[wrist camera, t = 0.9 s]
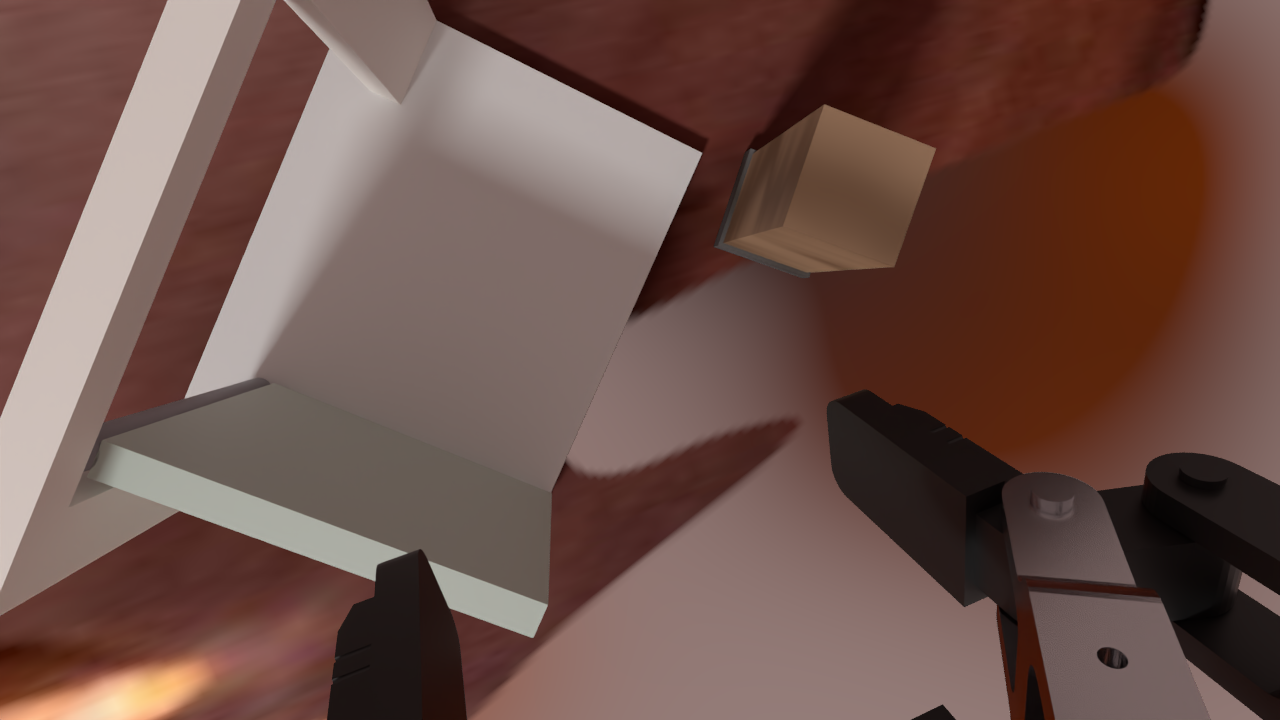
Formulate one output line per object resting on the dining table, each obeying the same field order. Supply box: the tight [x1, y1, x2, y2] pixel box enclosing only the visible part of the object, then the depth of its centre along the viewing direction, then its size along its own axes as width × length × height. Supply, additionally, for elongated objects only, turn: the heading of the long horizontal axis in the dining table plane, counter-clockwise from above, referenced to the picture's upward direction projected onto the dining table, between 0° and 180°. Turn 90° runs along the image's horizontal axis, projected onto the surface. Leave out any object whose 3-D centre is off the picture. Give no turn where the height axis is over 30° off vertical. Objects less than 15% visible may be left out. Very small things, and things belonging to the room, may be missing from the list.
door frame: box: [0, 0, 702, 616], centre depth 25 cm, size 23×18×16 cm
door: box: [83, 378, 552, 638], centre depth 26 cm, size 15×2×12 cm, turn 66°
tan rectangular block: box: [714, 104, 936, 278], centre depth 30 cm, size 5×5×10 cm
